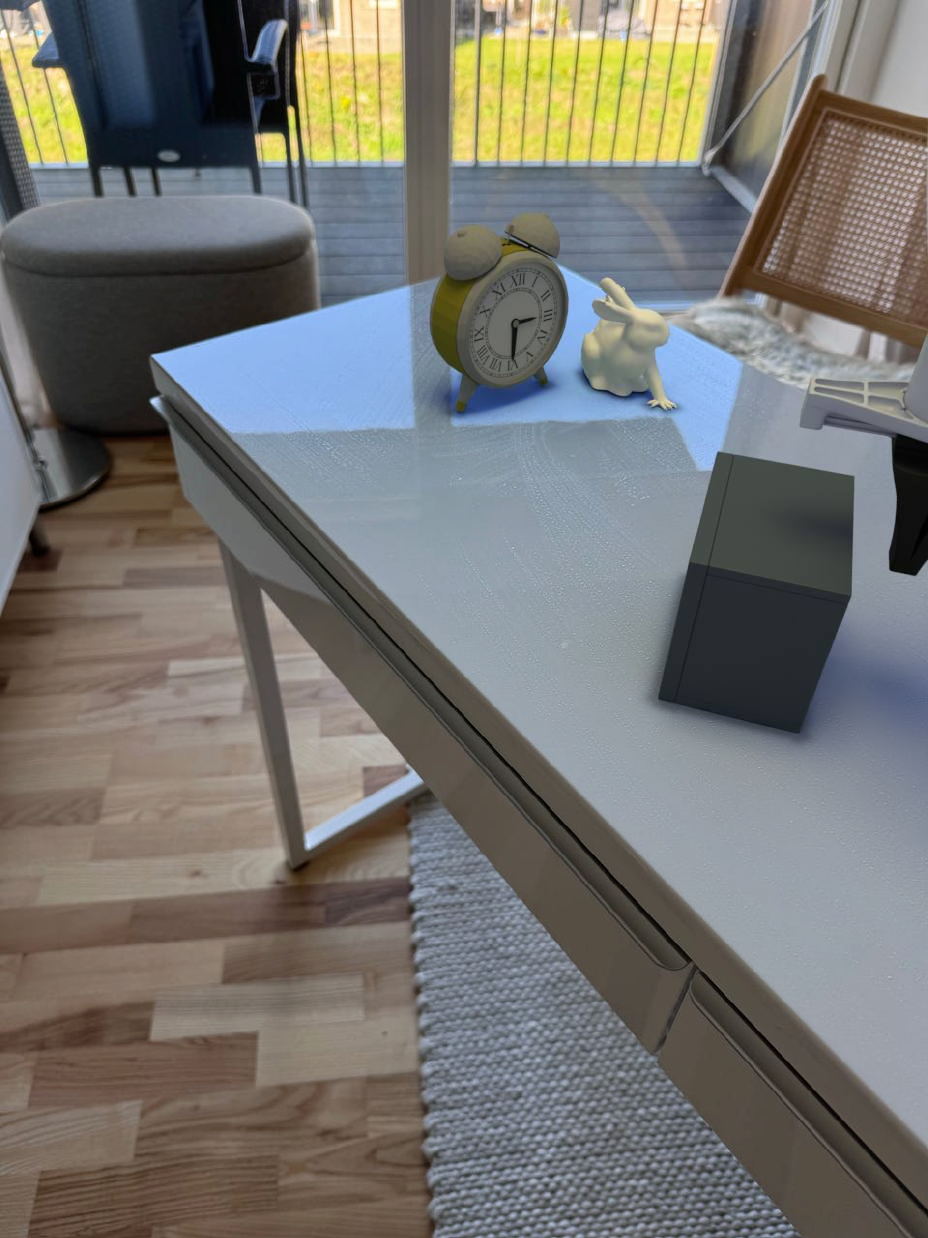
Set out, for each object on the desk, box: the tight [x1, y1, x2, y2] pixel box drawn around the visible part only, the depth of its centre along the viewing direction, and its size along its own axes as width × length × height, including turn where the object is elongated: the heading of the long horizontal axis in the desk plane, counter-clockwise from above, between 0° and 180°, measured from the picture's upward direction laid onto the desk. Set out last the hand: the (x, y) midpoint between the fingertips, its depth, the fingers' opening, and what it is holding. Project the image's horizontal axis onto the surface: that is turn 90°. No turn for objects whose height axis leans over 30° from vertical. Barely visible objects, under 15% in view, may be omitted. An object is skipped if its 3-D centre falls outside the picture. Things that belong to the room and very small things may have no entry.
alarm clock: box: [429, 211, 570, 413], centre depth 78 cm, size 12×7×15 cm, turn 126°
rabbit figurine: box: [580, 277, 677, 411], centre depth 81 cm, size 12×8×10 cm, turn 18°
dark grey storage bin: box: [657, 451, 856, 734], centre depth 54 cm, size 8×12×10 cm, turn 161°
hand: (902, 563), depth 50 cm, fingers closed
